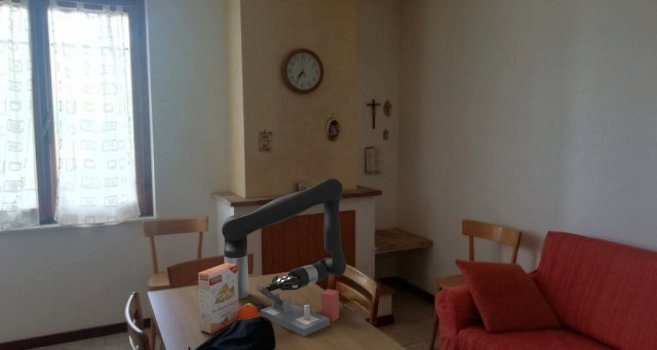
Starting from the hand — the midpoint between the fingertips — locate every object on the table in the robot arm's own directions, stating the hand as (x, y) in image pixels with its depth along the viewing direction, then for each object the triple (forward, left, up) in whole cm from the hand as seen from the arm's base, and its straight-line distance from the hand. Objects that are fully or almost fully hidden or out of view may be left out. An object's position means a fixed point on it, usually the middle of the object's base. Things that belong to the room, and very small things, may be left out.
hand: (267, 288), depth 176 cm
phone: (-11, +4, -12) cm, 17 cm away
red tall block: (+20, +11, -12) cm, 25 cm away
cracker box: (-13, -10, -12) cm, 21 cm away
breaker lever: (+2, +6, -7) cm, 10 cm away
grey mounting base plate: (+9, +4, -12) cm, 15 cm away
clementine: (-5, -4, -12) cm, 14 cm away
